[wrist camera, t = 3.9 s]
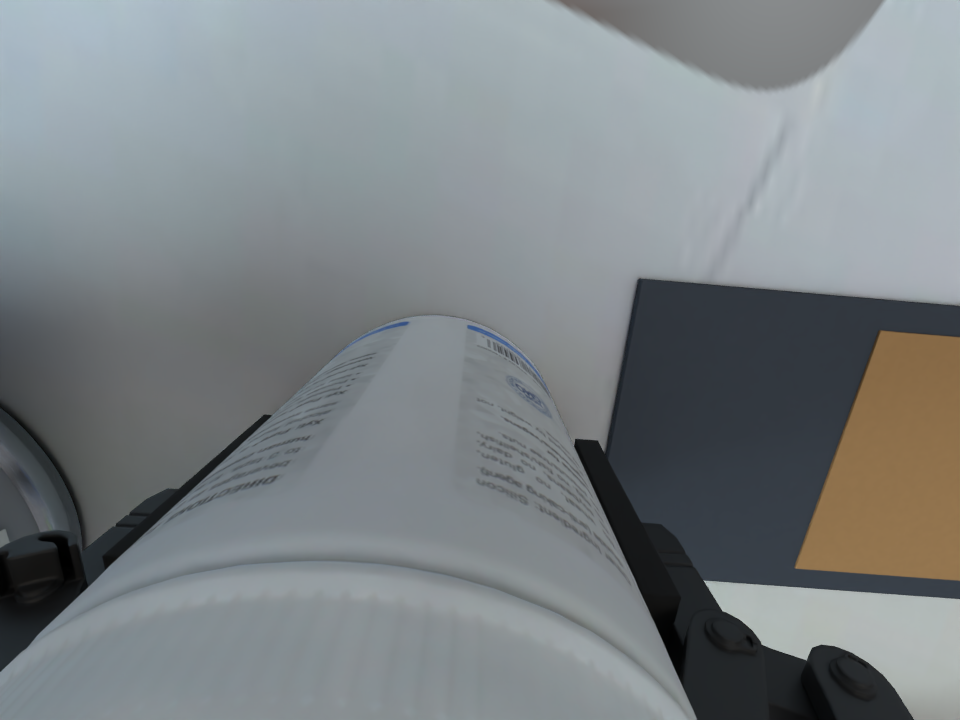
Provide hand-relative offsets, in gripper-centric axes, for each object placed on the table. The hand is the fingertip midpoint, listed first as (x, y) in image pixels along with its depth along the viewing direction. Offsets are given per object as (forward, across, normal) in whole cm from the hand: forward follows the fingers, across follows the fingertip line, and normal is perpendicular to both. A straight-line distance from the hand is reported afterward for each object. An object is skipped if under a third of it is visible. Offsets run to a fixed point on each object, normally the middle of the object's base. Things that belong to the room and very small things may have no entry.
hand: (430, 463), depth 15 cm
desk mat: (+3, +17, 0) cm, 17 cm away
